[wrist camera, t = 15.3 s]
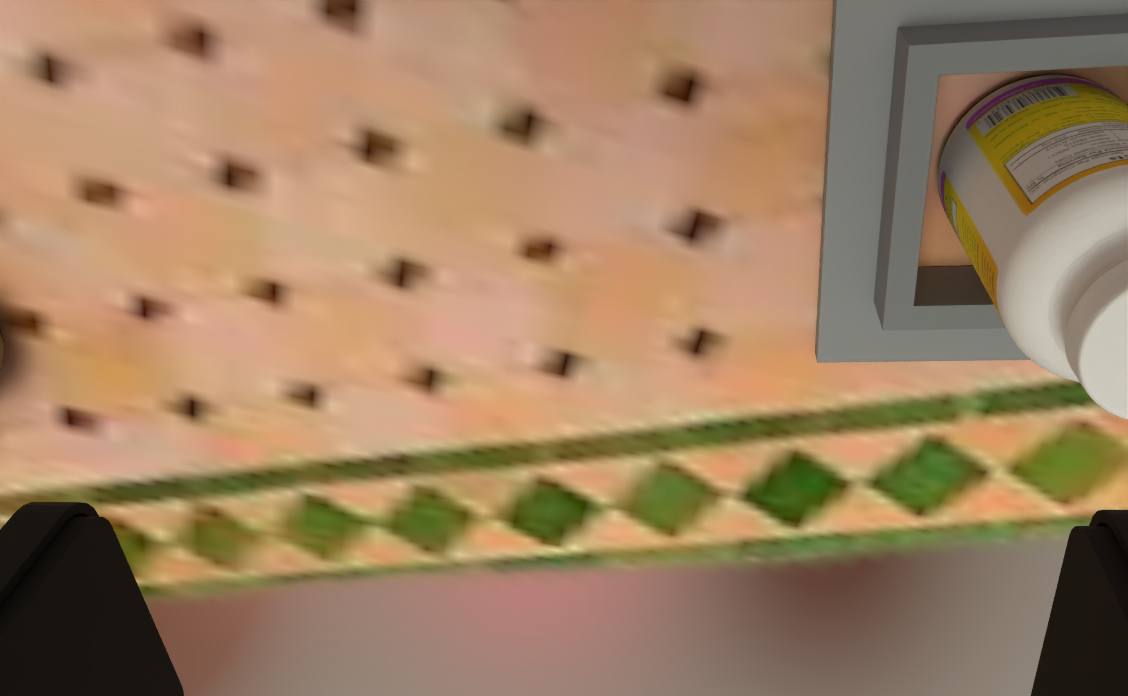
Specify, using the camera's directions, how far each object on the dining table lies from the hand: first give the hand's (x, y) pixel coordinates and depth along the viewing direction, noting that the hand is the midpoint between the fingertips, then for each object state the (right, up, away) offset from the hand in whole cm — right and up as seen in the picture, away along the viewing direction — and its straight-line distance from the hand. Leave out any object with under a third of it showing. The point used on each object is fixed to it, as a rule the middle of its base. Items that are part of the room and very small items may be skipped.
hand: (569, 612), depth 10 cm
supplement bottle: (+17, +9, +26) cm, 32 cm away
